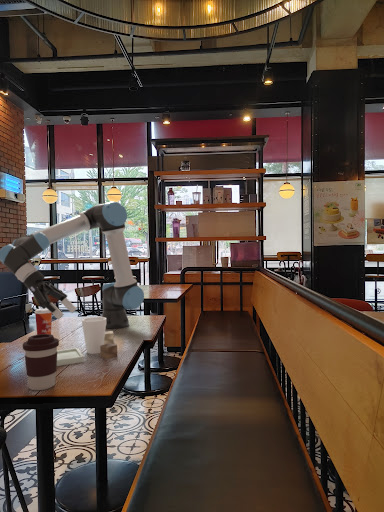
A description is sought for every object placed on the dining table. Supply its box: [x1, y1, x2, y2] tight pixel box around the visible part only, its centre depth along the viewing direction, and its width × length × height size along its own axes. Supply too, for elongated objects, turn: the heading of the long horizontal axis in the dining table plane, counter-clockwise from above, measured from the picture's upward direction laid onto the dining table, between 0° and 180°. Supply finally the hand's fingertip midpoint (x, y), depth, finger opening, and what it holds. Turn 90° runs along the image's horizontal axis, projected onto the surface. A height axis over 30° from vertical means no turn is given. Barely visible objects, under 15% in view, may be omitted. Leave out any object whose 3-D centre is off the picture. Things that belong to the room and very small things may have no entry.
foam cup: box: [81, 316, 107, 355], centre depth 142 cm, size 10×9×13 cm
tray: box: [57, 347, 85, 367], centre depth 131 cm, size 13×13×2 cm
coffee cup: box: [22, 333, 60, 391], centre depth 106 cm, size 10×10×15 cm
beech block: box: [104, 330, 115, 344], centre depth 155 cm, size 4×4×4 cm
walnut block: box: [99, 343, 118, 360], centre depth 134 cm, size 4×4×4 cm
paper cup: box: [34, 307, 53, 335], centre depth 162 cm, size 8×8×14 cm
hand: (68, 313), depth 142 cm, fingers open, 13 cm apart
